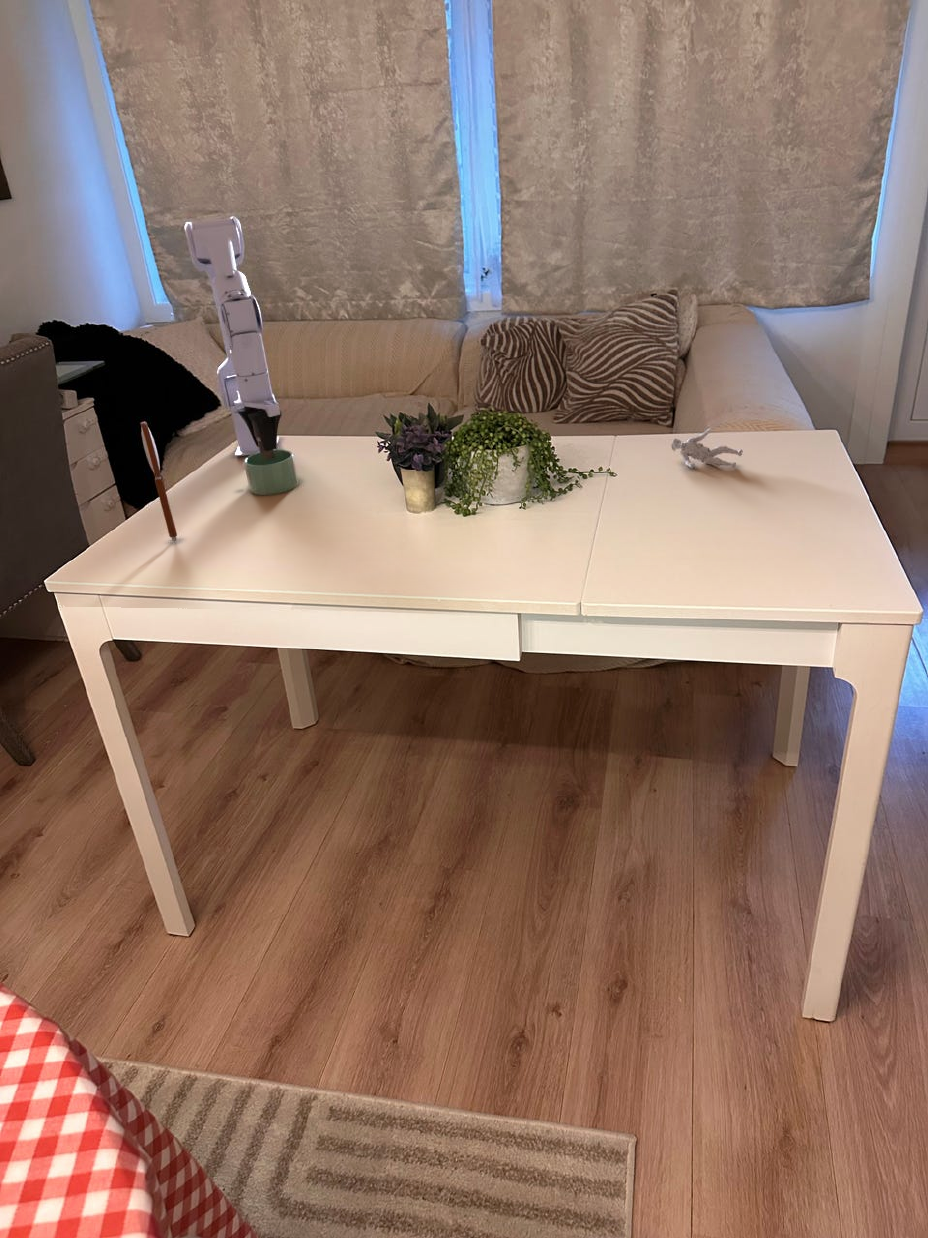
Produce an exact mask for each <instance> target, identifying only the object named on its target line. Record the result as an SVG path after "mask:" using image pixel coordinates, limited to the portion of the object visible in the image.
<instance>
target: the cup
mask: <svg viewBox="0 0 928 1238" xmlns="http://www.w3.org/2000/svg"><path fill="white" fill-rule="evenodd" d="M274 451H275V458H273V459H269V460H262V459H261V455H260V452H258V453H255V454H252V455H247V457H246V458H244V460H243V465H244V470H245V475H246V479H247V483H248V488H249V491H250V492H251V493H253V494H255V495H258V496H259V495H260V496H270V495H277V494H278V495H279V494H282V493H285V492H289V491H290V490H292V489H295V488H296V487H297V486H298V484H299V480H298V473H297V472H298V471H297V467H296V463H295V462H296V461H295V456H294V453H293V452H292V451H290V450H287V449H275V450H274Z"/></svg>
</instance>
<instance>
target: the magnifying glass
mask: <svg viewBox="0 0 928 1238" xmlns="http://www.w3.org/2000/svg"><path fill="white" fill-rule="evenodd" d="M140 427H141V439H142V444H143V449H144V452H145V455H146V458H147V459H146V460H147V462H148V464H149V466H150V468H151V471H152V472H153V476H154V477H155V478H154V484H155V486H156V490H157V494H158V498H159V501H160V506H161V509H162V513H163V516H164V520H165V524H166V529H167V532H168V536H169V538H171V541H172V542H176V541H177V540H178V539H177V537H178V533H177V529H176V525H175V521H174V517H173V514H172V510H171V505H170V502H169V498H168V495H167V491H166V487H165V483H164V479H163V477H162V476H161V466H160V458H159V453H158V450H157V446H156V443H155V439H154V436H153V434H152V432H151V430H150V428H149V426H148V422H146V421H142V422H140Z"/></svg>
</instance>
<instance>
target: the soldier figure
mask: <svg viewBox="0 0 928 1238" xmlns="http://www.w3.org/2000/svg"><path fill="white" fill-rule="evenodd" d="M713 430H714V429H713V428H708V429H706V430H705V431H704V432H703V433H701V434H699V435H698V436H695V437H691V438H688V439H687V440H686V441H684V442H682V440H680V439H678V438H673V440H672V442H671V445H670V446H671V450H672V451H673V452H675V451H676V450H679V449H681V450H680V455H681V457H682V459H683V461H684V463H685V465H686V466H687V467H689V468H691V469H694V467H695V463H693V462H692V461H691V459H690V457H691V458H692V459H693V460H697V461H700V462H701V463H703V464H707V465H714V466H718V467H721V466H723V467H731V468H734V469H735V468H736V467H737V462H729V461H726V460H723V459H721V458H719V457H717V456H718V455H722V454H730V455H737V456H738V457H742V455H743V452H744V450H743V449H740V450H737V449H733V448H731V447H729V446H727V445H719V446H716V447H715V446H714V447H712V448H711V449H710V447H707V446H704V444H703V443H701V441H703V440H704V439H705V438H706V436H708V434H710V431H713Z"/></svg>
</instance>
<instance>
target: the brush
mask: <svg viewBox="0 0 928 1238" xmlns="http://www.w3.org/2000/svg"><path fill="white" fill-rule="evenodd" d="M252 425H253V430H254V434H255V437H256V439H257V441H258V446H259V450H260V455H261V459H262V460H269V459H273V458H275V451H274V450H270V451H265V450H264V448H263V446H262V444H261V441H260V437H259V434H258V432H257V430H256V428H255V426H254V424H253V422H252Z"/></svg>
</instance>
